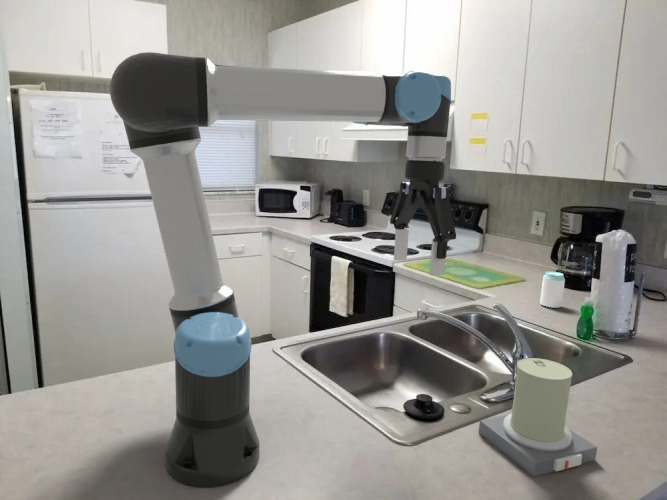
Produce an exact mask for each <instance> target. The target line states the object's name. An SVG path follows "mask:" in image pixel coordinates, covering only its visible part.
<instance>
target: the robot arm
mask: <svg viewBox="0 0 667 500" xmlns="http://www.w3.org/2000/svg"><path fill="white" fill-rule="evenodd" d="M109 86H110V87H109V95H110V100H111V103H112V106H113V108H114V110H115V112H116V113H117V115H118V116H119V118H121V120H122V121H123V126H124V130H125V134H126V138H127V141H128V146H129V150H130V153H133V154H134V155H135V156H137V157H138V158H140V159H141V160H142V162H143V167H144V170H145V176H146V179H147V180H146V181H147V183H148V188H149V191H150V192H149V193H150V197H151V201H152V204H153V207H154V208H153V209H154V212H155V216H156V221H157V225H158V229H159V234H160V236H161V237H160V238H161V241H162V245H163V249H164V254H165V257H166V258H165V259H166V261H167V266H168V271H169V275H170V279H171V282H172V287H173V290H174V291H173V292H174V294H173V296H172V298H171V299H170V300H169V302H168V309H169V313H170V316H171V317H170V318H171V321H172V325H173V329H174V333H175V336H174V340H173V353H174V362H175V363H174V367H175V369H174V370H175V417H176V418H175V421H174V423H173V427H172V430H171V432H170V435H169V439H168V441H167V444H166V448H165V452H164V453H165V469H166V471H167V473H168V474H169V475H170V477H172V478H173V479H174V480H176V481H177V482H179V483H181V484H184V485H189V486H191V487H192V486H194V487H201V488H202V487H203V488H205V487H207V488H208V487H211V488H212V487H219V486H223V485H228V484H231V483H233V482H236V481H238V480H241V479H242V478H244V477H246V476H247V475H248V474H250V473H251V472H252V471H253V470H254V469H255V467H256V466H257V465H258V463H259V459H260V448H261V446H260V439H259V436H258V433H257V431H256V427H255V425H254V423H253V419H252V417H251V413H250V396H251V394H250V393H251V391H250V388H251V386H250V383H251V351H252V338H251V331H250V328H249V326H248V324H247V323H246V322H245V320H243V319H242V318H240V316H239V310H238V307H237V302H236V298H235V293H234V289H233V288H232V287H231V286H229V285H228V284H226V283H224V281H223V277H222V273H221V268H220V264H219V258H218V254H217V249H216V245H215V241H214V236H213V231H212V226H211V221H210V218H209V211H208V208H207V204H206V199H205V195H204V189H203V183H202V181H201V176H200V175H201V174H200V171H199V167H198V166H199V165H198V161H197V156H196V149H197V147H198V146H199V144H200V143H201V141H202V137H201V133H200V132H201V131H200V128H209V127H210V128H211V126H212V125H213V124H214V123H215V122H217V121H258V122H259V121H264V122H265V121H266V122H267V121H273V122H274V121H275V122H276V121H278V122H279V121H280V122H281V121H282V122H283V121H285V122H286V121H287V122H337V123H338V122H347V123H348V122H351V123H353V124H357V125H358V124H359V125H364V126H368V125H369V126H371V125H372V126H384V127H385V126H387V127H388V126H389V127H390V126H391V127H393V126H394V127H404V128H406V127H407V141H406V151H405V152H406V153H405V156H406V158H408V159H407V160H406V161H405V168H404V178H405V179H406V180H409V181H408V182H407V181H403V182H402V181H401V182H400V186H399V191H398V195H397V197H396V198H397V199H396V202H395V205H394V208H393V210H392V212H391V213H392V214H391V216H390V219H389V224H390V225H393V227H394V229H395V233H394V253H393V260H394V261H403V260H404V261H405V260H408V259H407V258H408V245H409V234H410V233H409V232H410V230H409V229H410V226H409V223H411V220H412V219H413V217H414V216H415V214H416V212H417V210H418V209H422V210H423V212H425V214H426V217H427V219H428V221H429V225H430V227H431V232H432V234H433V239H431V250H430V251H431V252H430V262H429V263H430V265H429V276H443V275H444V274H445V264H446V258H447V251H448V242H449V241H452V240H453V241H454V240H456V239H457V232H456V227H455V222H454V217H453V212H452V207H451V203H450V188H449V187H446V186H445V187H444V186H443V187H442V186H441V187H440V186H439V182H441V181H444V179H445V171H446V170H445V169H446V163H445V161H443V159H446V155H447V154H446V153H447V143H448V142H447V141H448V140H447V139H448V131H449V123H450V122H449V119H450V112H451V111H450V110H451V109H450V108H451V104H452V83H451V79H450V78H449V77H448V76H446V75H443V74H442V75H441V74H431V73H429V72H426V71H423V70H421V71H420V70H417V71H414V70H411V71H407V72H406V73H394V72H393V73H391V72H389V73H388V72H383V73H382V72H368V71H350V70H349V71H344V70H322V69H321V70H320V69H300V68H299V69H297V68H278V67H277V68H276V67H275V68H274V67H255V66H254V67H251V66H234V65H233V66H229V65H226V66H224V65H215V64H214V63H212V61H211V60H210V59H209V58H208V57H203V56H202V57H200V56H199V57H198V56H185V55H178V54H170V53H169V54H167V53H161V52H152V51H150V52H140V53H137V54H132V55H130V56H128V57H126V58H125V59H124V60H122V61H121V62H120V63H119V64H118V65H117V67H116V68H115V70H114V72H113V73H112V75H111V79H110V84H109ZM199 127H200V128H199Z"/></svg>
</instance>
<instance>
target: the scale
mask: <svg viewBox="0 0 667 500" xmlns="http://www.w3.org/2000/svg"><path fill="white" fill-rule="evenodd" d="M511 415H512V413H510V414H505V415H501V416H496V417H490V418H485V419H481V420H479V425H478V434H480V435H481V436H482V437H483V438H485V439H486V440H487V441H488V442H489V443H491V444H492V445H493V446H494V447H496V448H497V449H498V450H499V451H501V452H502V453H503V454H504V455H506V456H507V457H508V458H510V459H511V460H512V461H513V462H515V463H516V464H517V465H518V466H520V467H521V468H522V469H523V470H525V471H526V472H527V473H528V474H529V475H531V476H532V477H538V476H541V475H544V474H545V475H546V474H549V473H552V472H559V471H563V470H568V469H570V468H574V467H577V466H581V465H583V464H585V463H586V464H587V463H590V462H593V461H596V459H597V458H596V457H597V451H598V446H596V445H595V444H593V443H592V442H590V441H588V440H587V439H586V438H584V437H583V436H581V435H579V434H578V433H576V432H575V431H573V430H571V429H570V428H569V427H568V426H566V425H565V428H564V431H565V435H564V437H563V438H562V439H561V440H559V441H555V442H541V441H536V440H532V439H529V438H526V437H524V436H522V435H520V434H519V433H517V432H516V431H515V430H514V429H513V428H512V427H511V425H510V419H511Z"/></svg>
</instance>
